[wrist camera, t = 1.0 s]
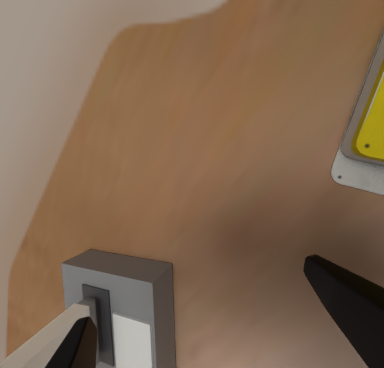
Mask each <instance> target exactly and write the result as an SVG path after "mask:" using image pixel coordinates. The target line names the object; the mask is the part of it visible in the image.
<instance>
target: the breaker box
mask: <svg viewBox="0 0 384 368" xmlns="http://www.w3.org/2000/svg"><path fill="white" fill-rule="evenodd" d="M61 266H62V277H63V287H64V298H65V309H68V308H69V307H70V306H71V305H73V304H74V303H75V304H78V303H79V302H80V301H81V300H83V299H85V298H94V299H95V305H96V318H97V331H98V344H99V358H100V361H99V363H98V365H97V366H96V368H176V355H175V327H174V300H173V272H172V263H167V262H161V261H155V260H149V259H143V258H137V257H132V256H126V255H120V254H114V253H108V252H103V251H97V250H91V249H90V250H88V251H86V252H84V253H82V254H80V255H77V256H75V257H73V258H71V259H69V260H67V261H65V262H63V263H61Z"/></svg>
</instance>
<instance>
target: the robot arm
mask: <svg viewBox="0 0 384 368" xmlns="http://www.w3.org/2000/svg"><path fill="white" fill-rule="evenodd" d="M304 274H305V276H306V277H307V279H308V281H309V282H310V284H311V286H312V287H313V289H314V290H315V292H316V294H317V295H318V297H319V299H320V300H321V302H322V304H323V305H324V307H325V308H326V310H327V311H328V313H329V314H330V316H331V317H332V318H333V320H334V321H335V322H336V324H337V325H338V327H339V328H340V329H341V331H342V332H343V333H344V335H345V336H346V337H347V339H348V340H349V341H350V343H351V344H352V346H353V347H354V348H355V350H356V351H357V352H358V354H359V355H360V356H361V358H362V359H363V361H364V362H365V363H366V365H367V366H368V367H369V368H384V288H383V287H381V286H379V285H377V284H375V283H373V282H371V281H369V280H367V279H365V278H363V277H361V276H359V275H357V274H355V273H352V272H350V271H348V270H346V269H344V268H342V267H340V266H338V265H336V264H334V263H332V262H330V261H328V260H326V259H324V258H322V257H320V256H318V255H315V254H314V255H310V256H307V257H306V258H305V264H304ZM97 337H98V332H97V328H96V326H95V324H94V322H93V320H92V319H91V317H89V316H87V317H83V318H79V319H78V320H77V321H76V322H75V323H74V325H73V326H72V328H71V329H70V331H69V332H68V334H67V335H66V337H65V338H64V340H63V341H62V343H61V344H60V346H59V347H58V349H57V350H56V351H55V353H54V354H53V356H52V357H51V359H50V360H49V362H48V363H47V365H46V366H45V368H96V353H97Z"/></svg>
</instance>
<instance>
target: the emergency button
mask: <svg viewBox="0 0 384 368" xmlns="http://www.w3.org/2000/svg"><path fill="white" fill-rule="evenodd" d="M331 176H332V178H333V180H334V181H335V182H337V183H339V184H341V185H345V186H349V187H353V188H357V189H361V190H365V191H369V192H373V193H377V194H381V195H384V29H383V32H382V34H381V37H380V40H379V42H378V45H377V48H376V50H375V53H374V55H373V58H372V61H371V63H370V66H369V69H368V71H367V74H366V77H365V79H364V82H363V85H362V87H361V90H360V93H359V95H358V98H357V101H356V103H355V106H354V109H353V111H352V114H351V117H350V119H349V122H348V125H347V127H346V130H345V133H344V135H343V138H342V141H341V143H340V146H339V149H338V151H337V154H336V157H335V159H334V162H333V165H332V167H331Z"/></svg>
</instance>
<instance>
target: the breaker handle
mask: <svg viewBox="0 0 384 368" xmlns="http://www.w3.org/2000/svg"><path fill="white" fill-rule="evenodd" d="M87 316H89V317H91V319H92V320H93V322H94V324H95V326H96V328H97V318H96V305H95V299H94V298H85V299H83V300H81V301H80V302H79V303H78V304H75V303H74V304H73V305H71V306H70V307H69V308H68V309H66V310H65V311H64V312H63V313H61V314H60V315H59V316H58V317H56V318H55V319H54V320H53V321H51V322H50V323H49V324H48V325H46V326H45V327H44V328H43V329H41V330H40V331H39V332H38V333H36V334H35V335H34V336H33V337H32V338H30V339H29V340H28V341H27V342H25V343H24V344H23V345H22V346H20V347H19V348H18V349H17V350H15V351H14V352H13V353H12V354H10V355H9V356H8V357H7V358H5V359H4V360H3V361H2V362H1V363H0V368H45V366H46V365H47V363H48V362H49V360H50V359H51V357H52V356H53V354H54V353H55V351H56V350H57V349H58V347H59V346H60V344H61V343H62V341H63V340H64V338H65V337H66V335H67V334H68V332H69V331H70V329H71V328H72V326H73V325H74V323H75V322H76V321H77V320H78V319H79V318H83V317H87ZM97 332H98V331H97ZM99 361H100V358H99V344H98V337H97V353H96V366H97V365H98V363H99Z"/></svg>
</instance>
